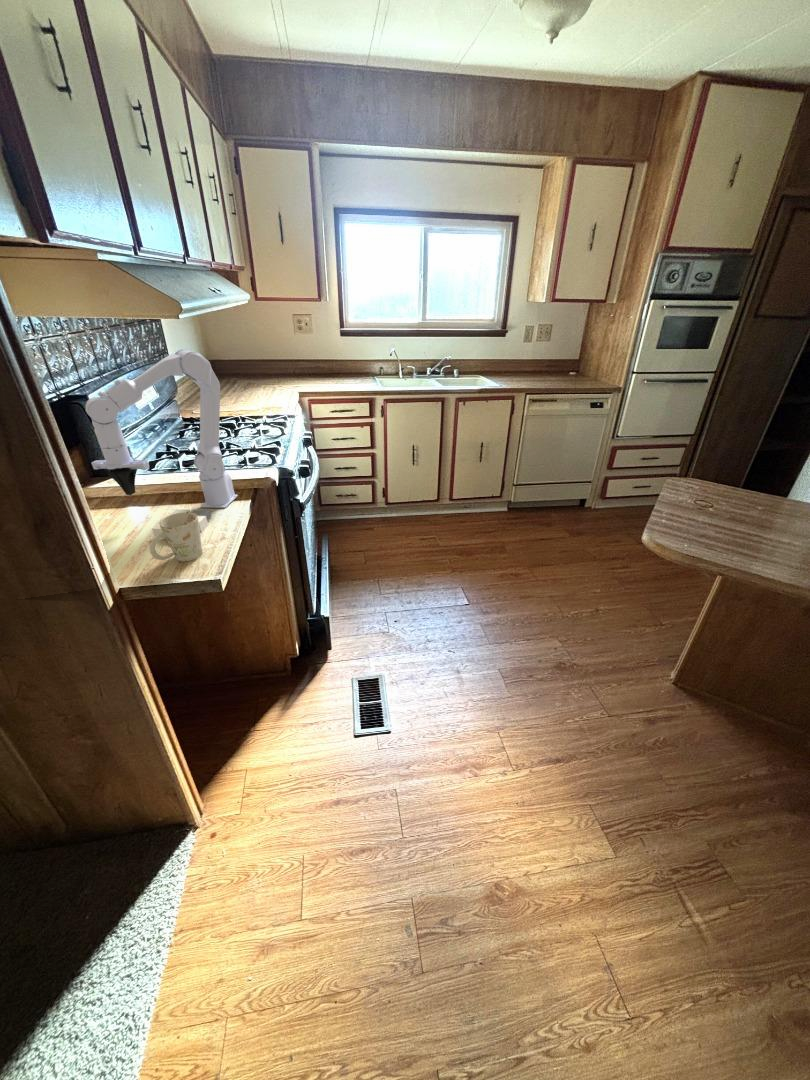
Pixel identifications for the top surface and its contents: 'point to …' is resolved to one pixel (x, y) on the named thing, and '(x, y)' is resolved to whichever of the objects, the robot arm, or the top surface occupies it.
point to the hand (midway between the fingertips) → (130, 493)
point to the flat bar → (200, 514)
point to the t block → (201, 519)
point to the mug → (179, 537)
